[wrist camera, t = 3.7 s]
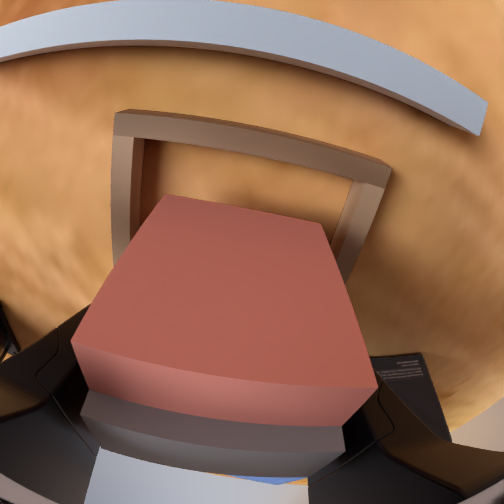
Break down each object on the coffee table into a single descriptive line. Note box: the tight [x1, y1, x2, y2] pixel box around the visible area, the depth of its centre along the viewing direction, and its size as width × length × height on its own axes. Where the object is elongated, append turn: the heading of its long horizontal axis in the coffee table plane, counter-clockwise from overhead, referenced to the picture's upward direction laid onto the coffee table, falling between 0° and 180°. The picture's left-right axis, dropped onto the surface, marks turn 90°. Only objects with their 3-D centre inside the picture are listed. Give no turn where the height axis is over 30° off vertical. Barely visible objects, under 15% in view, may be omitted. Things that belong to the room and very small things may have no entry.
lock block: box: [71, 194, 378, 478], centre depth 8 cm, size 5×5×7 cm
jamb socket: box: [111, 109, 392, 284], centre depth 12 cm, size 10×10×1 cm
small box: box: [370, 354, 452, 443], centre depth 15 cm, size 11×6×10 cm, turn 177°
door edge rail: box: [0, 0, 488, 136], centre depth 7 cm, size 1×22×2 cm, turn 79°
